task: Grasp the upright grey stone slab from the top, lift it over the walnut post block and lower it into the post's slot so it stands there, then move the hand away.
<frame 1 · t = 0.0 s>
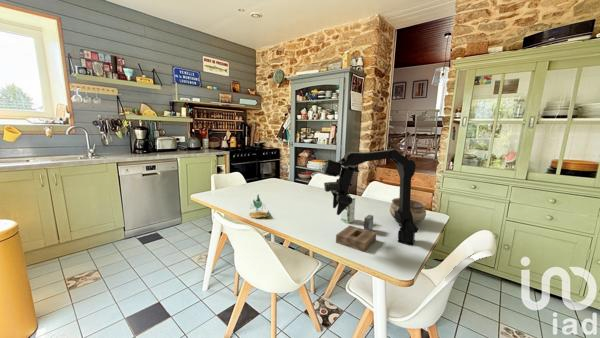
hand: (335, 211, 110), 15 cm above the table, fingers open, 9 cm apart
upright grey stone slab: (368, 231, 126), on the table
post block: (356, 241, 114), on the table
syrup box: (347, 221, 140), on the table
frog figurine: (259, 216, 146), on the table
cooking pot: (406, 223, 138), on the table
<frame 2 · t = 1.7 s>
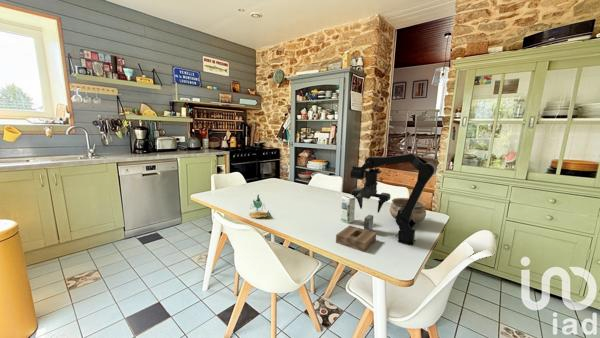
hand: (369, 210, 124), 11 cm above the table, fingers open, 9 cm apart
nothing on the table moved.
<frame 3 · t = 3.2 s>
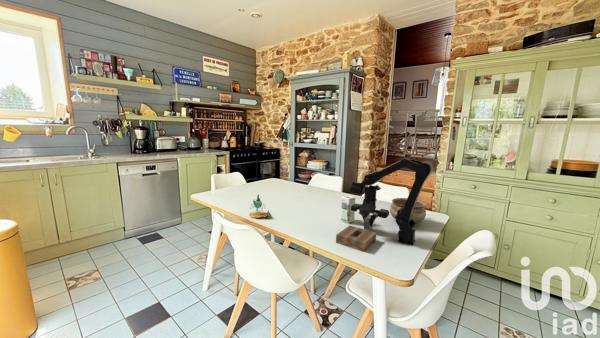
hand: (368, 226, 125), 3 cm above the table, fingers closed on upright grey stone slab, 2 cm apart
upright grey stone slab: (368, 231, 126), on the table, touching gripper
everything else where it was.
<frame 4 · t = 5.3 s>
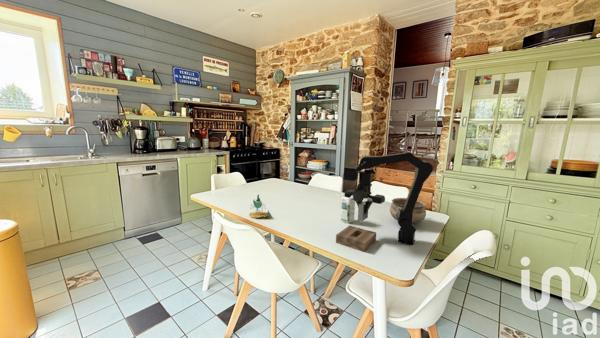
hand: (363, 213, 118), 12 cm above the table, fingers closed on upright grey stone slab, 2 cm apart
upright grey stone slab: (362, 218, 119), point 9 cm above the table, touching gripper
everything else where it was.
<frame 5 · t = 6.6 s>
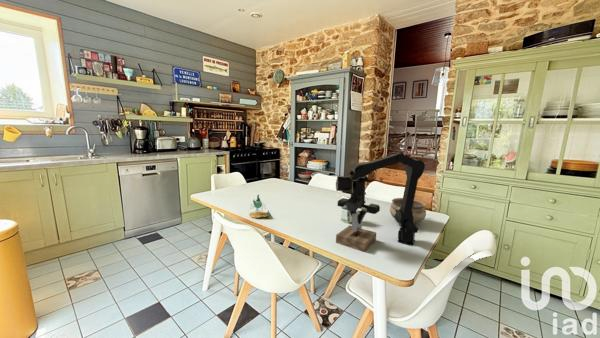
hand: (357, 222, 113), 9 cm above the table, fingers closed on upright grey stone slab, 2 cm apart
upright grey stone slab: (356, 228, 113), point 6 cm above the table, touching gripper
everything else where it was.
when the fingers open (5 cm above the table, at t = 7.6 s): upright grey stone slab drops 1 cm, resting on post block.
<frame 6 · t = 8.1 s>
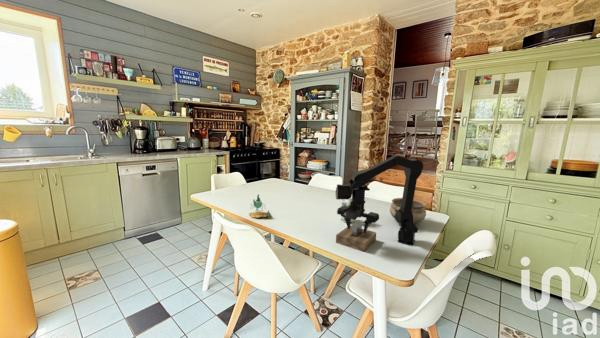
hand: (356, 231, 113), 5 cm above the table, fingers open, 8 cm apart
upright grey stone slab: (356, 239, 114), point 1 cm above the table, touching post block
everything else where it was.
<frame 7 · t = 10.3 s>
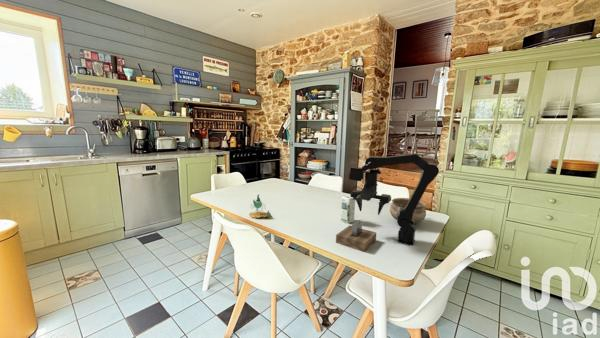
hand: (369, 212, 119), 12 cm above the table, fingers open, 9 cm apart
nothing on the table moved.
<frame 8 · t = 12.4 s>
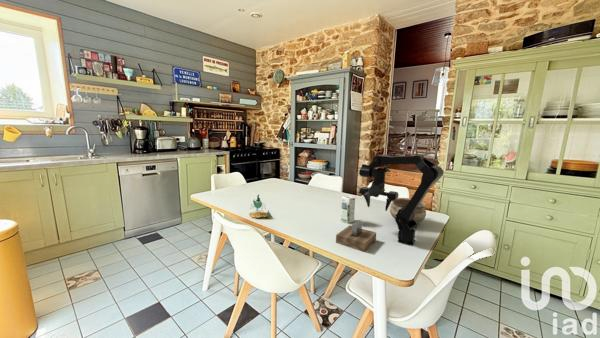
hand: (377, 208, 125), 12 cm above the table, fingers open, 9 cm apart
nothing on the table moved.
at the end: upright grey stone slab 0.1 cm off-centre on the post block, point 1.0 cm above the post block's base; upright grey stone slab tilted 0°; the gripper is holding nothing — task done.
